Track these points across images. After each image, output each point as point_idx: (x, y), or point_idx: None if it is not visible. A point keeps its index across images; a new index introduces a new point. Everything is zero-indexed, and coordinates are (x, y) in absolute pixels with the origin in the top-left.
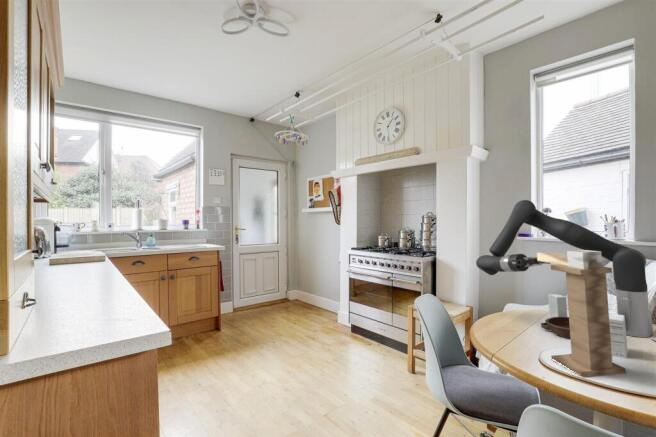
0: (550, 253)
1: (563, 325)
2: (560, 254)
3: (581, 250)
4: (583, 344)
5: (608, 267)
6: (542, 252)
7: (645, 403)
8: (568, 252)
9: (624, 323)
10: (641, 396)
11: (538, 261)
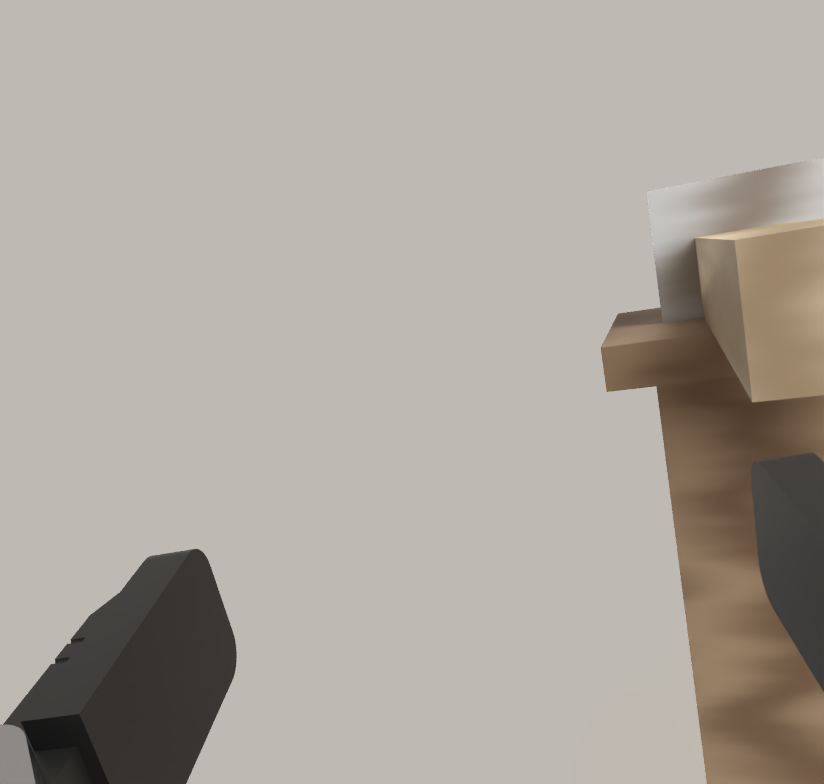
0: (768, 230)
1: None
2: (732, 234)
3: (690, 183)
4: None
5: (620, 314)
6: (790, 230)
7: None
8: (821, 169)
9: None
10: None
11: (761, 533)
